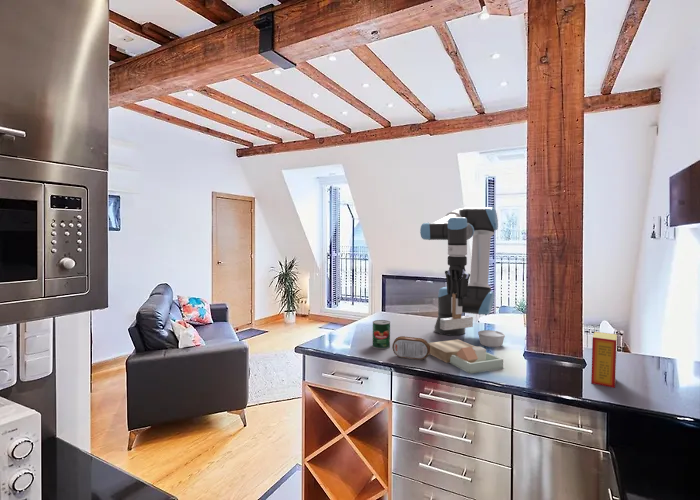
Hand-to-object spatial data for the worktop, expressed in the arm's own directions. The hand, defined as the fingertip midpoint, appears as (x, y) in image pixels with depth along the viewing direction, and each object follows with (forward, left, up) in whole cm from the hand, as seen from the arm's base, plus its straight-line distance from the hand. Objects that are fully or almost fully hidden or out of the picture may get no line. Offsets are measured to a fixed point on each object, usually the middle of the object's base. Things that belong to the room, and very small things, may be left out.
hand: (456, 313), depth 158 cm
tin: (+19, -5, -18) cm, 26 cm away
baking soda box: (-30, +40, -18) cm, 54 cm away
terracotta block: (+4, +10, -15) cm, 19 cm away
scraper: (0, 0, -6) cm, 6 cm away
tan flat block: (+1, -2, -18) cm, 18 cm away
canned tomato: (+23, -24, -18) cm, 37 cm away
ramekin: (-25, -9, -18) cm, 32 cm away
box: (0, +12, -18) cm, 22 cm away
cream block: (-2, +8, -14) cm, 17 cm away
